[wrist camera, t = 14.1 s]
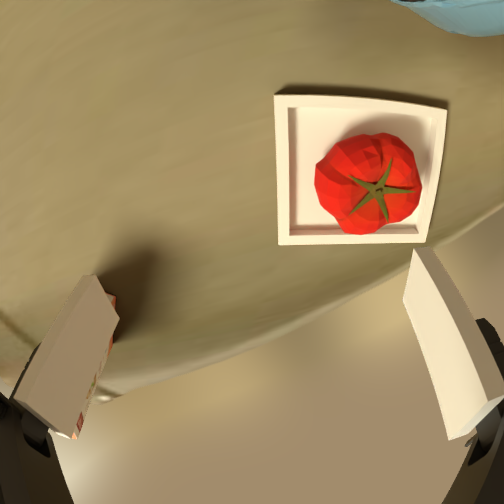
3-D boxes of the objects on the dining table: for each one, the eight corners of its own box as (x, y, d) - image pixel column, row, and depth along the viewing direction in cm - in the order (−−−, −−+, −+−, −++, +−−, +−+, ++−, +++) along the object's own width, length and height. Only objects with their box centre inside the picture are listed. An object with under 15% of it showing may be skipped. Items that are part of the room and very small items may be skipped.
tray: (273, 94, 27) (274, 95, 25) (438, 107, 25) (447, 110, 24) (278, 236, 36) (278, 245, 34) (418, 234, 35) (424, 242, 33)
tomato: (413, 192, 31) (439, 218, 25) (330, 226, 34) (341, 259, 29) (390, 113, 26) (417, 125, 21) (296, 151, 29) (303, 171, 24)
